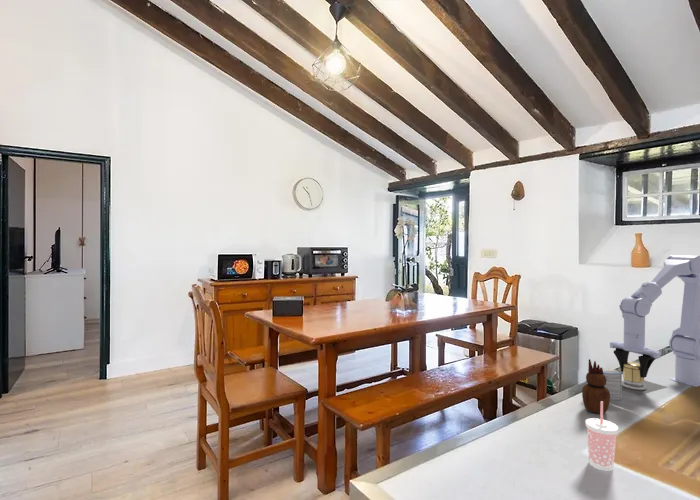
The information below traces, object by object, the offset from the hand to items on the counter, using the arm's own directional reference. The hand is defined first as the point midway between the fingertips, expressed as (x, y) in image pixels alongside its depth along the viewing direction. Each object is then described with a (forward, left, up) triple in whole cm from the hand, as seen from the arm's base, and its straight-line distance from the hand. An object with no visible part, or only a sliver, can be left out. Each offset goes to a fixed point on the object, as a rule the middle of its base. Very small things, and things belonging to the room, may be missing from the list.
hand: (633, 374), depth 132 cm
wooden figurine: (+29, +6, -5) cm, 30 cm away
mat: (-2, 0, -5) cm, 5 cm away
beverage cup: (+55, +24, -5) cm, 60 cm away
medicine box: (+17, +1, -5) cm, 18 cm away
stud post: (0, 0, -4) cm, 4 cm away
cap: (0, 0, -2) cm, 2 cm away
